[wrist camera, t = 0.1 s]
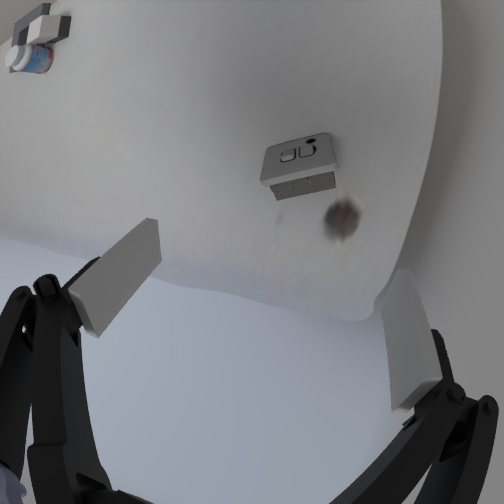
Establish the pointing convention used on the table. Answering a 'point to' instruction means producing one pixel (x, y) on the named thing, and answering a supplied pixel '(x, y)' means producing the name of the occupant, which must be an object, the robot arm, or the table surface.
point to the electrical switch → (300, 167)
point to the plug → (48, 29)
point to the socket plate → (23, 26)
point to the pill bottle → (29, 58)
